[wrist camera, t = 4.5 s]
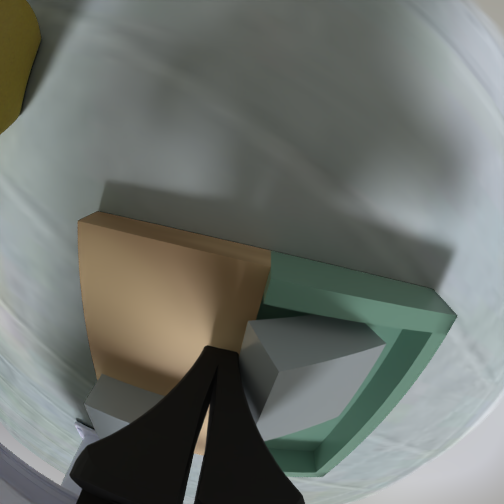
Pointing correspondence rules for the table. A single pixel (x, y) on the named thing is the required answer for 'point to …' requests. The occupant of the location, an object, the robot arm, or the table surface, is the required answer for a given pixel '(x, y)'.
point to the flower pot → (15, 56)
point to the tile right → (303, 369)
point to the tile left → (117, 404)
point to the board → (163, 299)
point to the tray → (385, 368)
